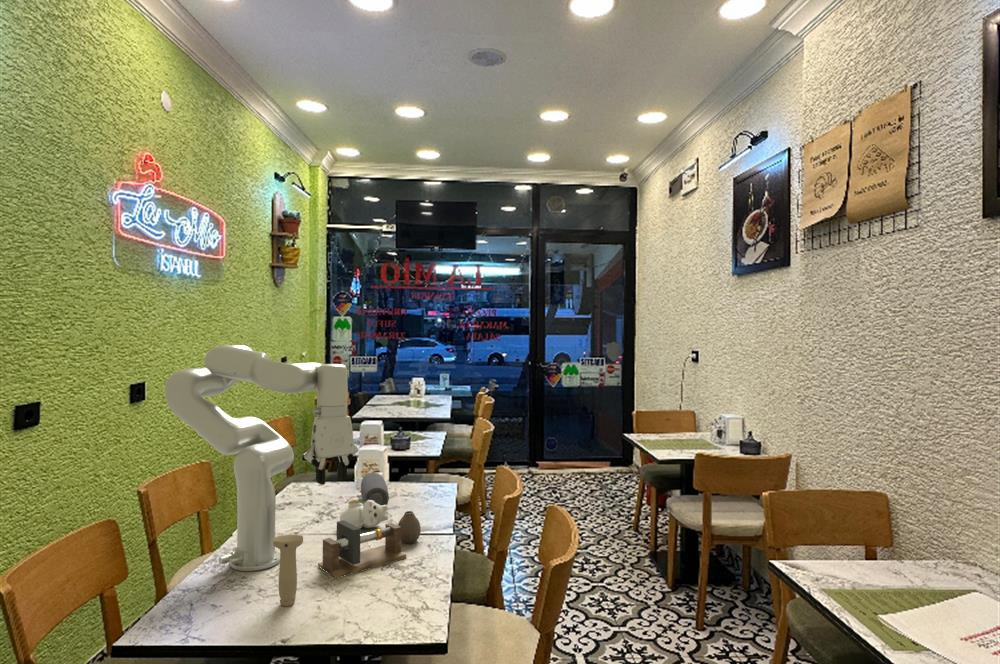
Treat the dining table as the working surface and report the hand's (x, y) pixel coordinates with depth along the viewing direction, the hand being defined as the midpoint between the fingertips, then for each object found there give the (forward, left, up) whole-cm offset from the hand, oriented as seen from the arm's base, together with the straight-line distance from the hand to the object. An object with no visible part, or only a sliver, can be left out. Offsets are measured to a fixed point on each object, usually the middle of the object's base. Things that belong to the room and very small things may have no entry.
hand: (331, 481), depth 157 cm
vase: (+28, 0, -24) cm, 37 cm away
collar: (+5, -1, -21) cm, 22 cm away
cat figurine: (+28, +20, -24) cm, 42 cm away
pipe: (+9, -2, -18) cm, 21 cm away
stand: (+9, -2, -23) cm, 25 cm away
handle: (-18, -8, -24) cm, 30 cm away
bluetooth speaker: (+46, +36, -24) cm, 64 cm away
